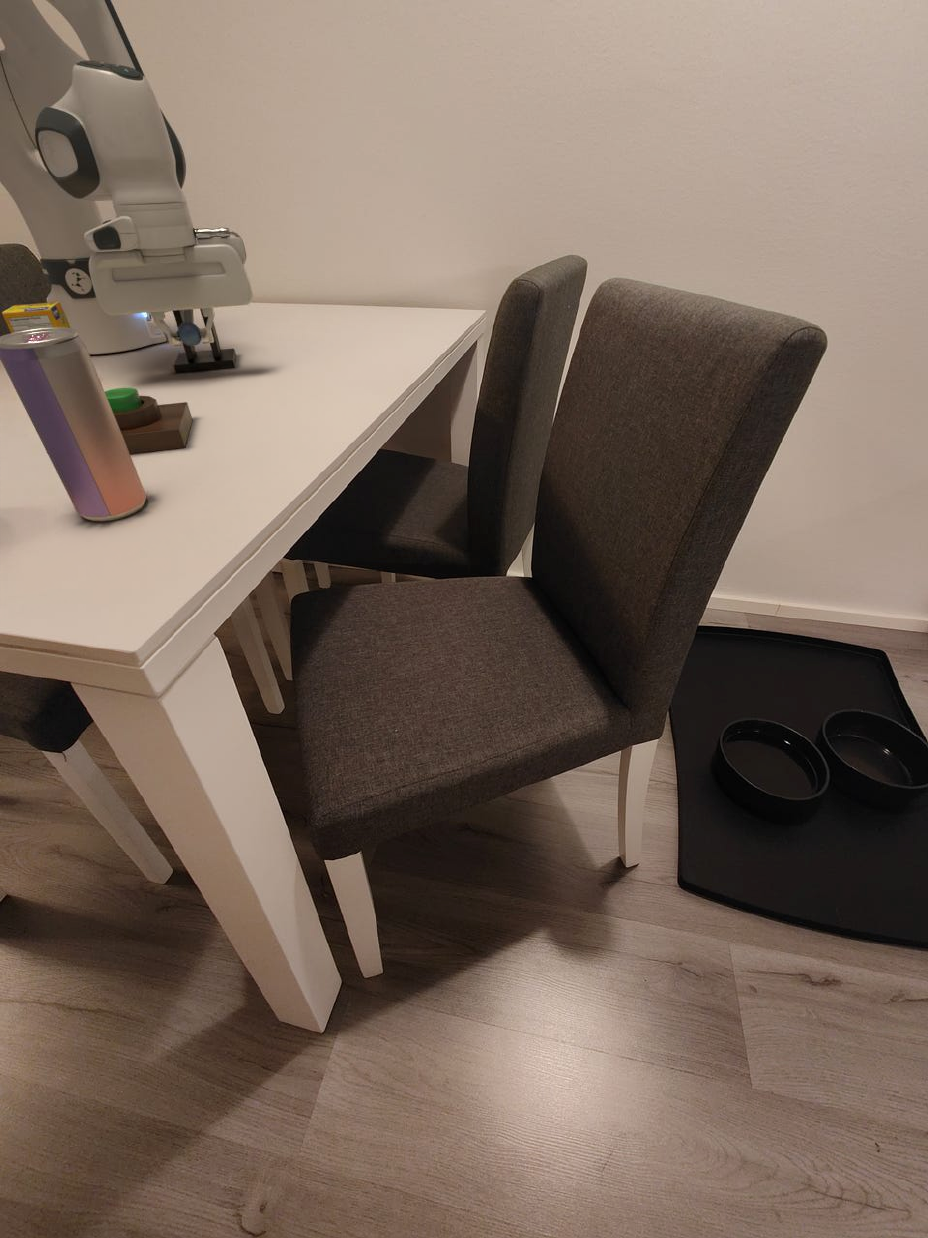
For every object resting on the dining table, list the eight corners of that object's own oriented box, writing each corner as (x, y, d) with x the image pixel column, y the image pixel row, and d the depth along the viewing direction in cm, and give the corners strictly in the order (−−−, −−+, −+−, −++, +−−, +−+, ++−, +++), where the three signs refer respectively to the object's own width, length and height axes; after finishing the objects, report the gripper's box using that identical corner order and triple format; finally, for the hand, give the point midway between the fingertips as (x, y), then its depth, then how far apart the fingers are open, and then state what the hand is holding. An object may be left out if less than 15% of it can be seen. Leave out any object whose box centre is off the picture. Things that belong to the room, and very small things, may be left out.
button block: (90, 430, 70) (76, 397, 68) (192, 419, 73) (182, 386, 70) (70, 461, 63) (53, 425, 60) (185, 447, 65) (173, 412, 63)
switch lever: (205, 349, 84) (198, 329, 81) (182, 351, 83) (174, 330, 80) (201, 299, 90) (194, 279, 87) (180, 301, 89) (172, 280, 86)
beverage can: (76, 529, 50) (-17, 347, 41) (82, 501, 55) (-1, 331, 45) (148, 515, 52) (75, 338, 43) (149, 489, 57) (82, 323, 47)
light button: (108, 404, 66) (102, 389, 65) (145, 401, 67) (139, 385, 66) (101, 415, 63) (95, 399, 62) (140, 411, 64) (134, 395, 63)
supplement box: (93, 380, 87) (60, 300, 81) (86, 391, 83) (50, 308, 76) (50, 385, 86) (13, 304, 79) (40, 396, 82) (0, 311, 75)
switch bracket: (234, 367, 92) (213, 283, 84) (175, 373, 90) (148, 288, 82) (236, 355, 98) (216, 276, 90) (181, 360, 96) (155, 280, 88)
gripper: (240, 225, 79) (264, 333, 88) (81, 232, 75) (123, 345, 84) (239, 227, 75) (264, 341, 83) (69, 236, 71) (114, 355, 79)
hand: (192, 343), depth 84 cm, fingers closed on switch lever, 3 cm apart
